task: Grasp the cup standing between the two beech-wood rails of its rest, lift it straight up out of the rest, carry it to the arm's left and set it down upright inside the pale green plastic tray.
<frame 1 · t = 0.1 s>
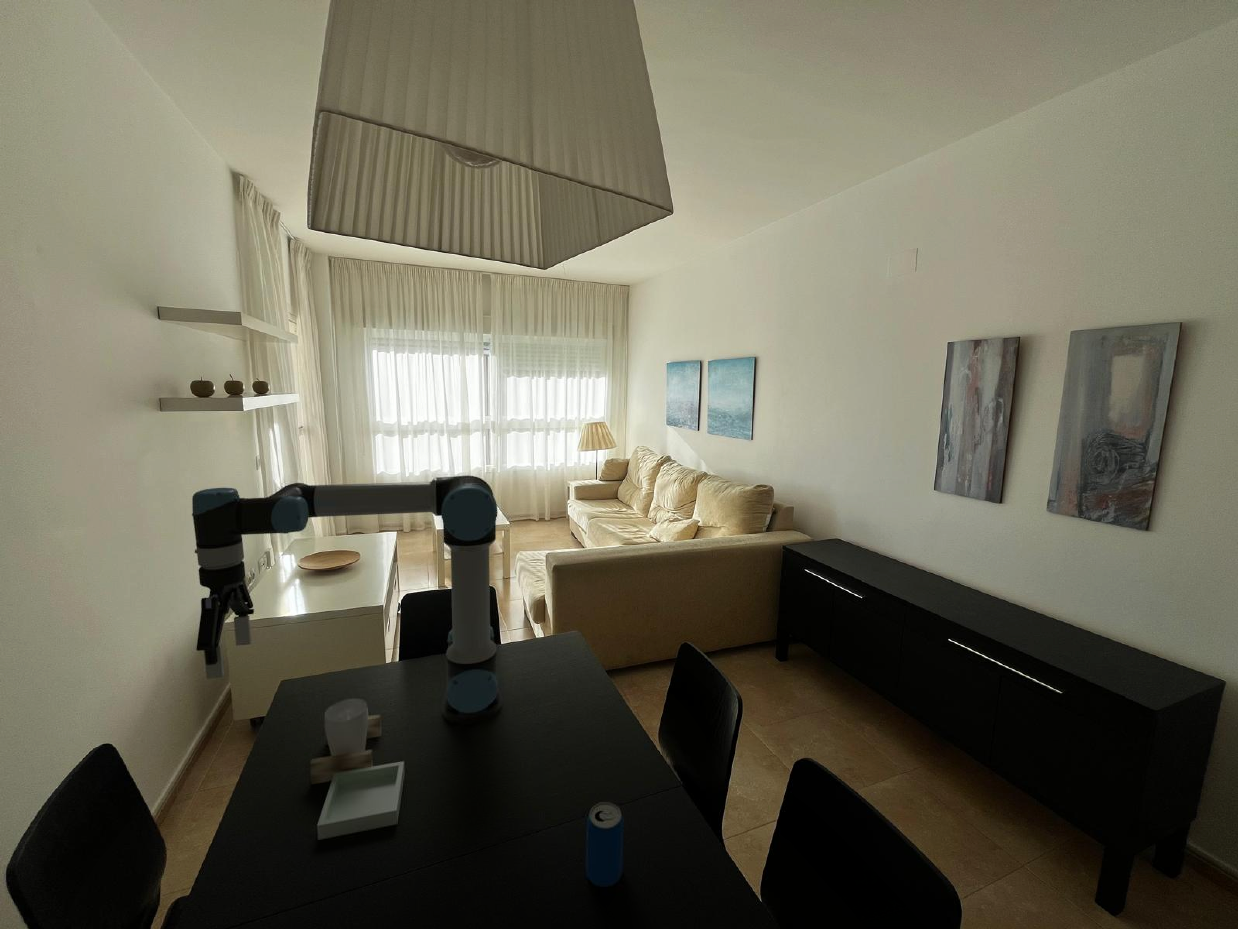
hand: (230, 659, 110), 28 cm above the table, fingers open, 13 cm apart
tray: (364, 804, 108), on the table
cup: (349, 757, 121), on the table
beverage can: (604, 874, 94), on the table
rest: (348, 756, 121), on the table
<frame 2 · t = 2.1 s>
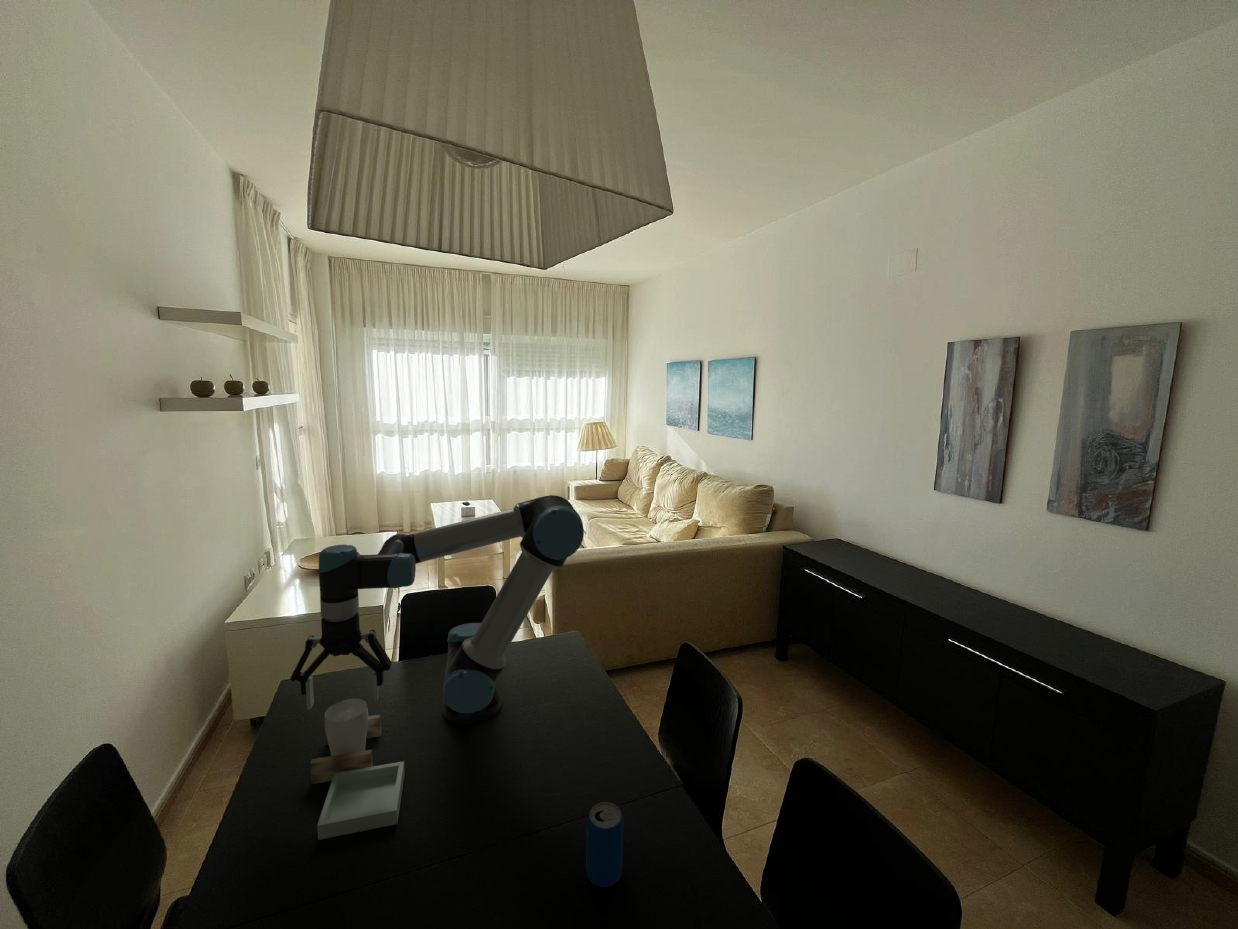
hand: (344, 702, 119), 14 cm above the table, fingers open, 13 cm apart
nothing on the table moved.
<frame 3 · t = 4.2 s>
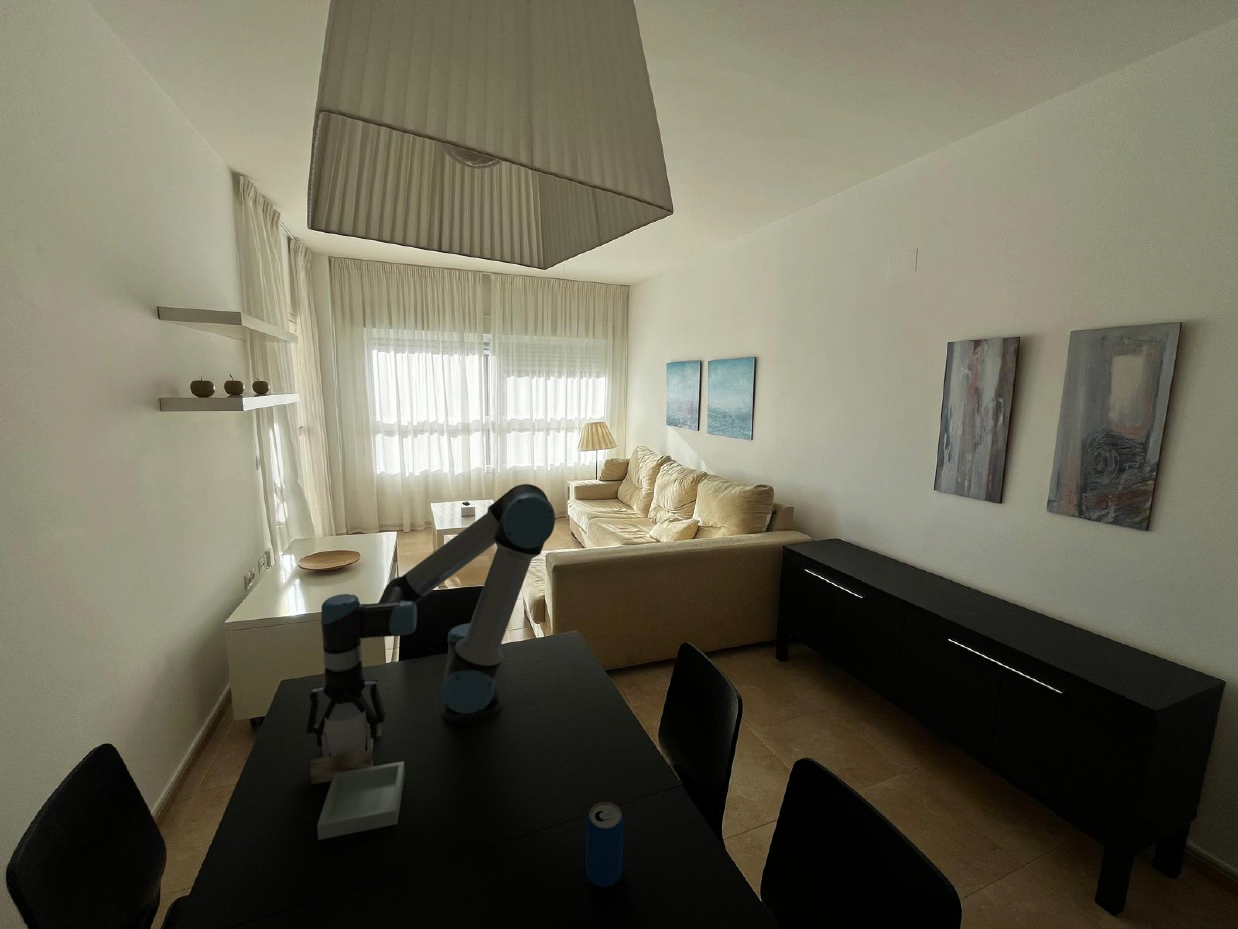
hand: (348, 753, 121), 1 cm above the table, fingers closed on cup, 9 cm apart
cup: (349, 757, 121), on the table, touching gripper
everything else where it was.
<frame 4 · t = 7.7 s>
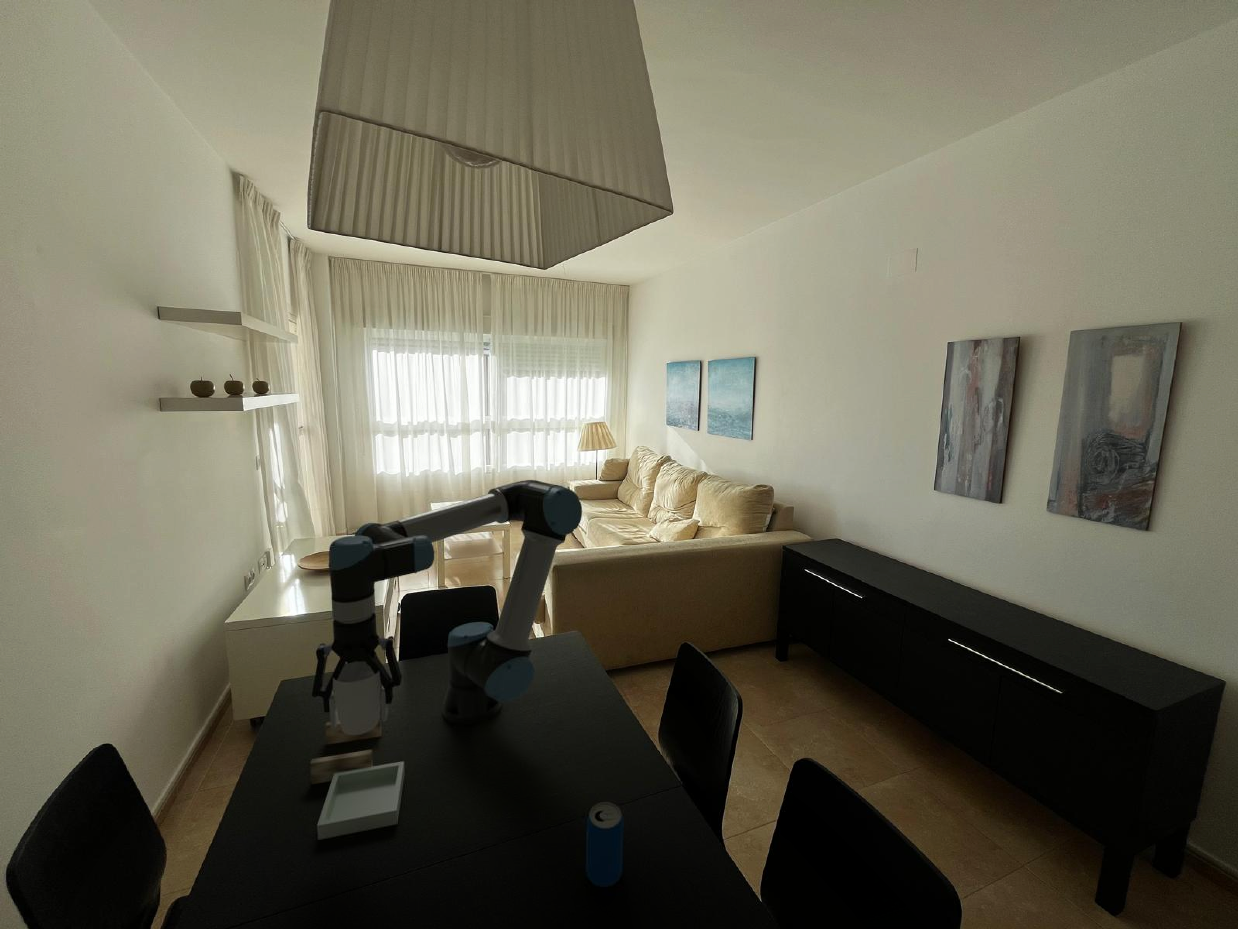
hand: (360, 721, 105), 19 cm above the table, fingers closed on cup, 9 cm apart
cup: (360, 726, 105), point 18 cm above the table, touching gripper
everything else where it was.
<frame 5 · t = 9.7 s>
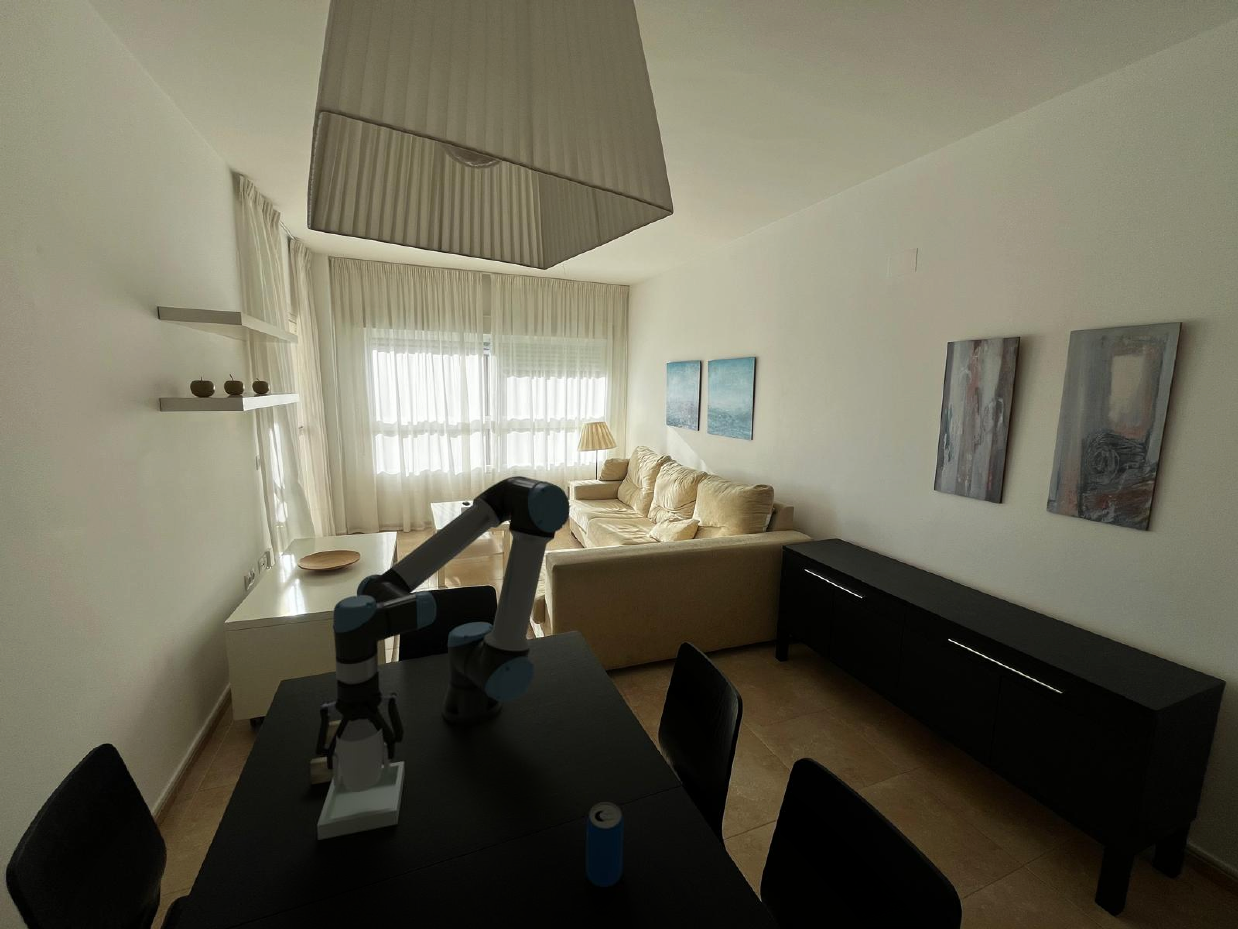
hand: (362, 776, 107), 6 cm above the table, fingers closed on cup, 9 cm apart
cup: (362, 781, 107), point 5 cm above the table, touching gripper
everything else where it was.
when the fingers open (3 cm above the table, at t = 11.4 s): cup drops 2 cm, resting on tray.
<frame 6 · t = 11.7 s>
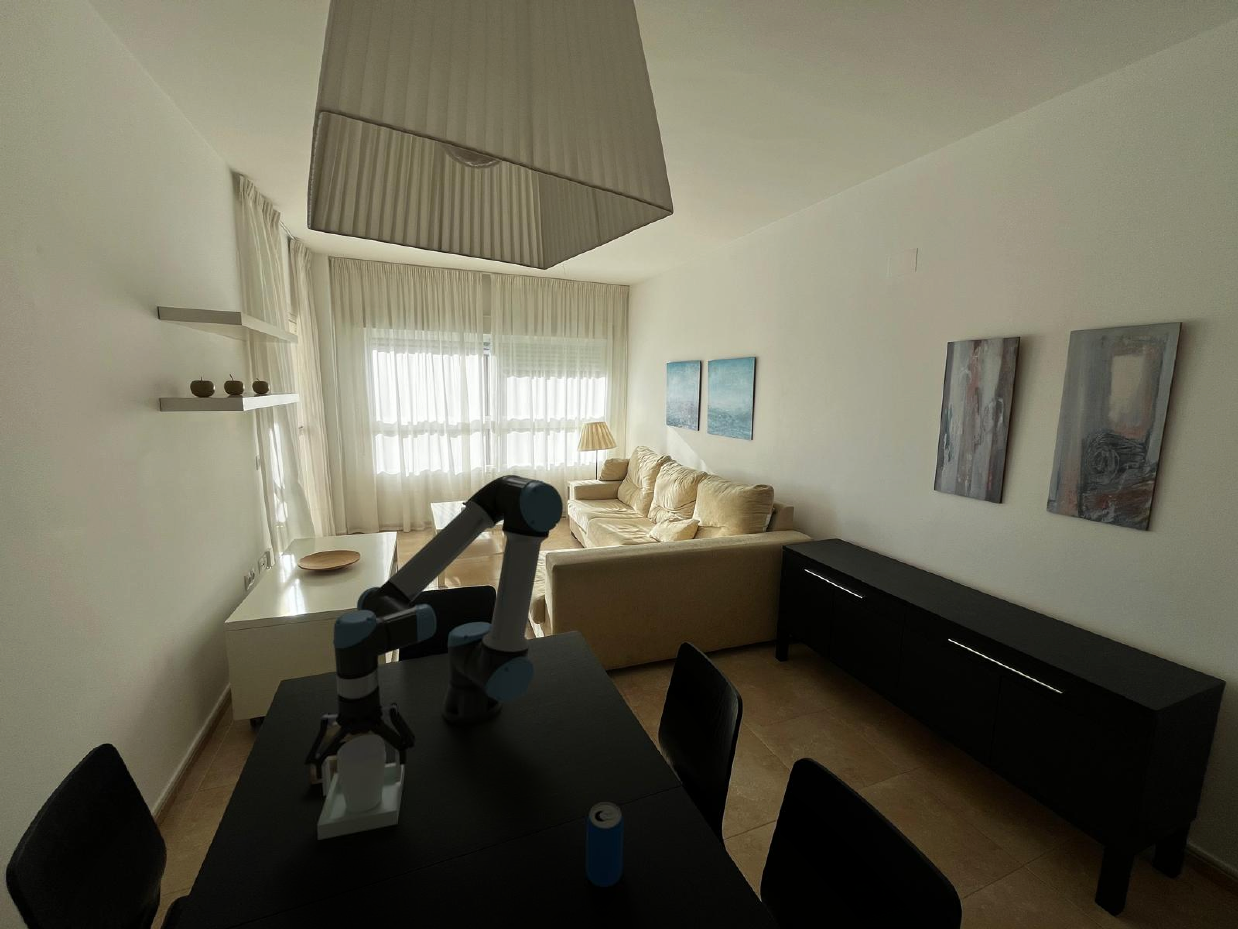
hand: (363, 784, 107), 5 cm above the table, fingers open, 13 cm apart
cup: (364, 802, 108), resting on tray
everything else where it was.
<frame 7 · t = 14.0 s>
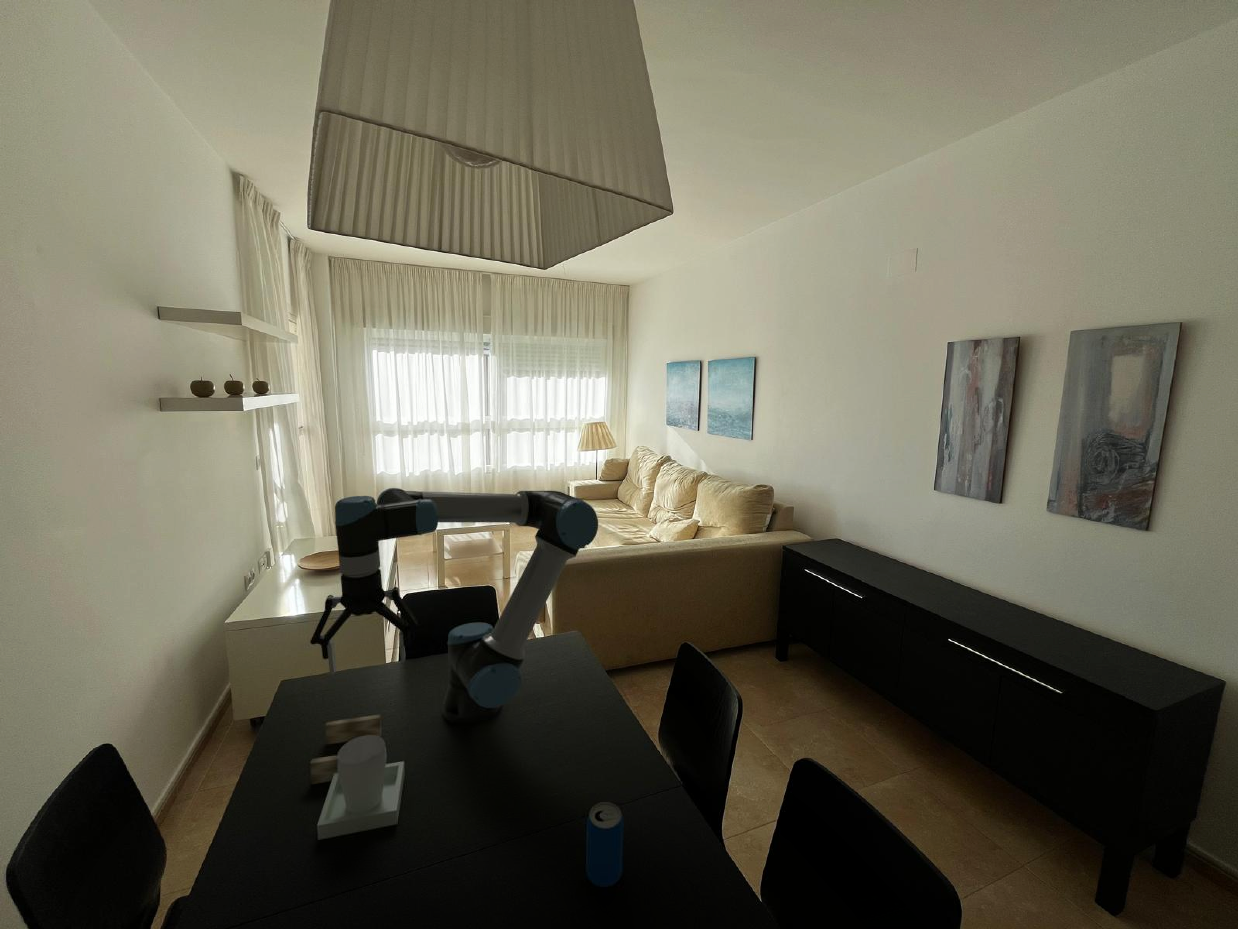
hand: (368, 665, 111), 27 cm above the table, fingers open, 13 cm apart
nothing on the table moved.
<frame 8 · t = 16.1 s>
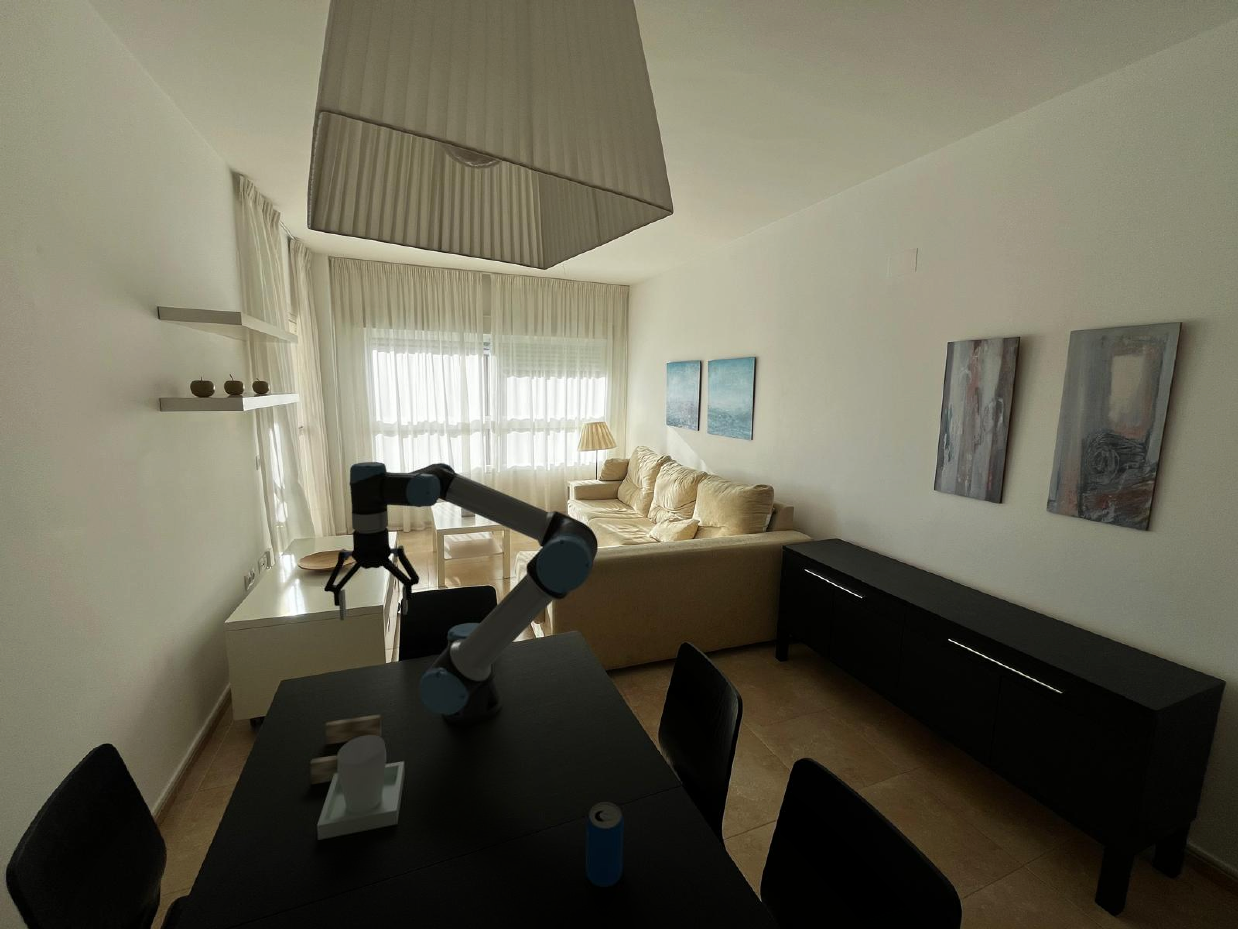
hand: (374, 615, 124), 32 cm above the table, fingers open, 13 cm apart
nothing on the table moved.
at the end: cup inside the target area on the tray (0.1 cm from its centre), point 0.4 cm above the tray's base; cup tilted 0°; the gripper is holding nothing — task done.
